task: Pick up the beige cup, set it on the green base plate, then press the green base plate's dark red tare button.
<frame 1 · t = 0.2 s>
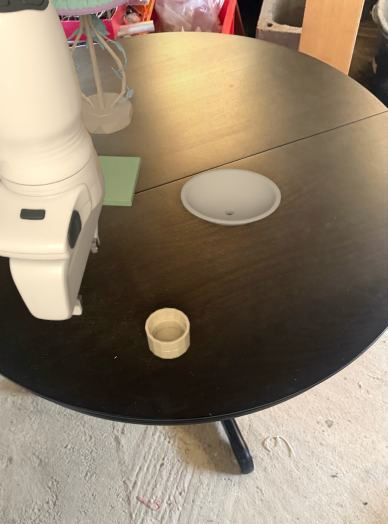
hand: (84, 277, 56), 18 cm above the table, tool pointing down, fingers open, 8 cm apart
tare button: (71, 178, 89), point 4 cm above the table, slide at 0.1 cm
green base plate: (99, 182, 93), on the table
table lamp: (104, 118, 106), on the table
dish: (229, 217, 88), on the table
beige cup: (169, 342, 73), on the table
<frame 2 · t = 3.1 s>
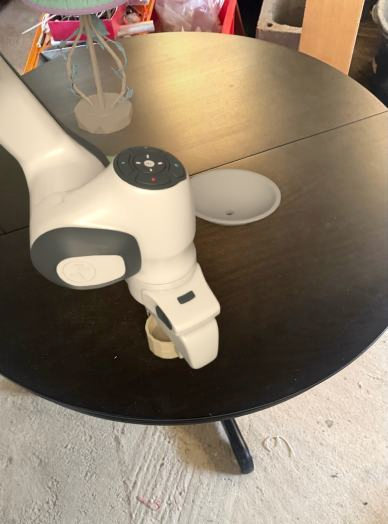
hand: (168, 334, 71), 2 cm above the table, tool pointing down, fingers closed on beige cup, 6 cm apart
beige cup: (169, 342, 73), on the table, touching gripper
everything else where it was.
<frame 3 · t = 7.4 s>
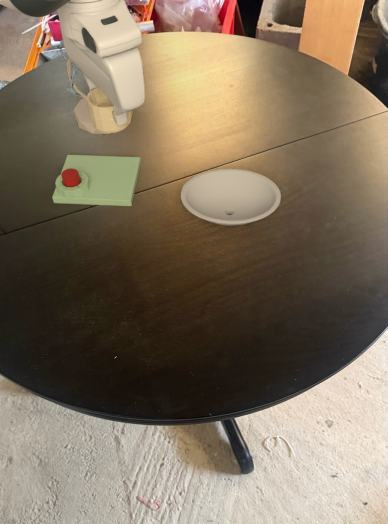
hand: (109, 110, 76), 18 cm above the table, tool pointing down, fingers closed on beige cup, 6 cm apart
beige cup: (111, 123, 78), point 15 cm above the table, touching gripper
everything else where it was.
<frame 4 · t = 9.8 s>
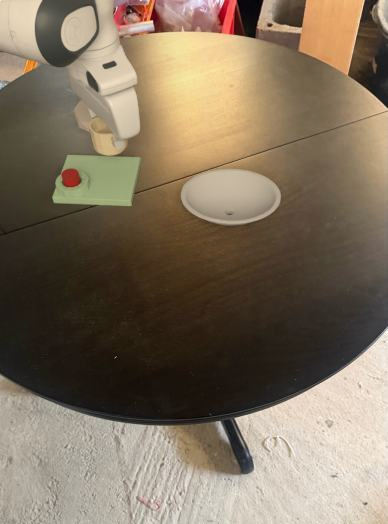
hand: (108, 136, 87), 9 cm above the table, tool pointing down, fingers closed on beige cup, 6 cm apart
beige cup: (110, 146, 89), point 7 cm above the table, touching gripper
everything else where it was.
when the fingers open (3 cm above the table, at t = 11.7 s): beige cup stays where it is, resting on green base plate.
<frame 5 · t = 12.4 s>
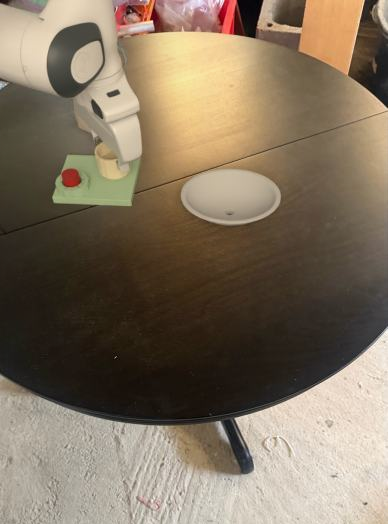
hand: (111, 157, 91), 4 cm above the table, tool pointing down, fingers open, 8 cm apart
beige cup: (115, 170, 93), point 1 cm above the table, touching green base plate
everything else where it was.
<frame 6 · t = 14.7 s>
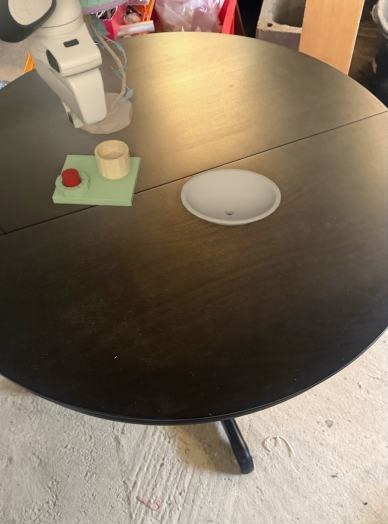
hand: (76, 123, 82), 13 cm above the table, tool pointing down, fingers closed
nothing on the table moved.
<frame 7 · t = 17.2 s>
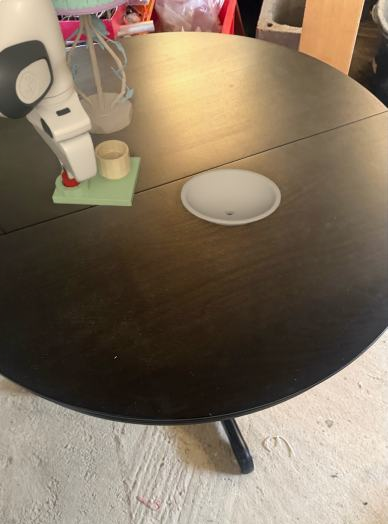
hand: (70, 173, 88), 4 cm above the table, tool pointing down, fingers closed, pressing on tare button
tare button: (71, 178, 89), point 3 cm above the table, slide at 0.0 cm, touching gripper
everything else where it was.
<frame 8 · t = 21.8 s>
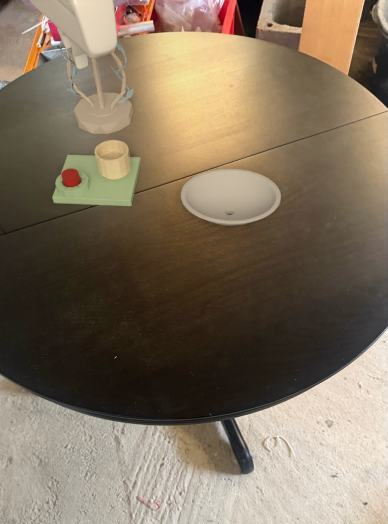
hand: (78, 63, 66), 27 cm above the table, tool pointing down, fingers closed
tare button: (71, 178, 89), point 4 cm above the table, slide at 0.1 cm
everything else where it was.
at the end: beige cup inside the target area on the green base plate (1.1 cm from its centre), point 1.4 cm above the green base plate's base; tare button pushed in 0.9 cm at the most during the clip, back to where it started at the end; tare button slide at 0.1 cm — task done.
